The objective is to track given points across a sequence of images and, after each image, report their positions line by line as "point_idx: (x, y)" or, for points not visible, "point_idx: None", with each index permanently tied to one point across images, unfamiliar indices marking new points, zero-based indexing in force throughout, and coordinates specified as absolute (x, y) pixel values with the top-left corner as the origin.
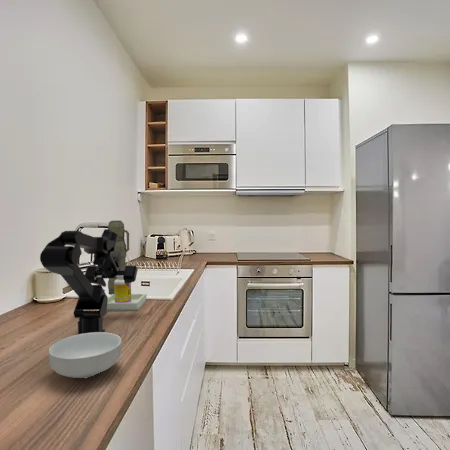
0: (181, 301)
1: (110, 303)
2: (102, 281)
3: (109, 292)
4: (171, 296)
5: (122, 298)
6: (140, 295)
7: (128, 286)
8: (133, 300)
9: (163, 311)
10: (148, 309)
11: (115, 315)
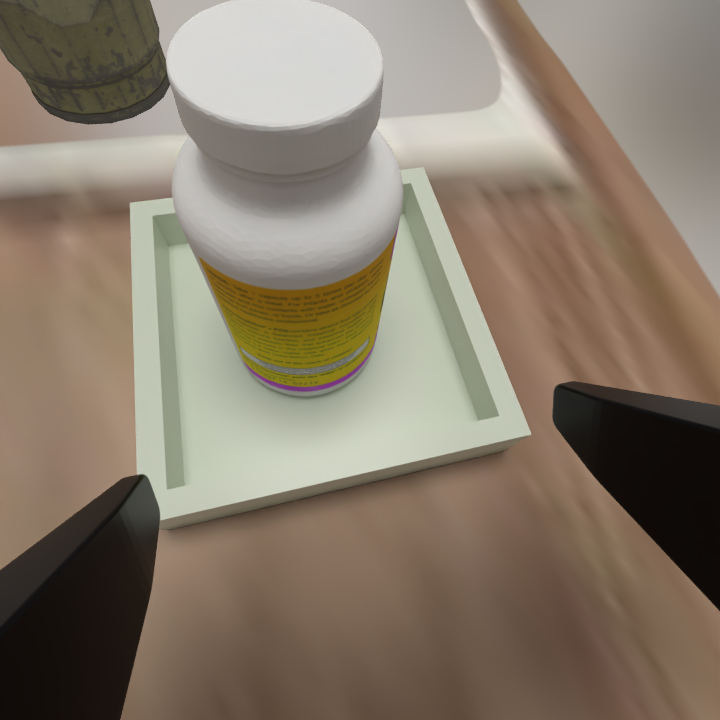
0: (655, 200)
1: (269, 496)
2: (74, 681)
3: (44, 100)
4: (521, 119)
5: (339, 367)
6: None
7: (572, 430)
8: None
9: None
10: None
11: (399, 629)
